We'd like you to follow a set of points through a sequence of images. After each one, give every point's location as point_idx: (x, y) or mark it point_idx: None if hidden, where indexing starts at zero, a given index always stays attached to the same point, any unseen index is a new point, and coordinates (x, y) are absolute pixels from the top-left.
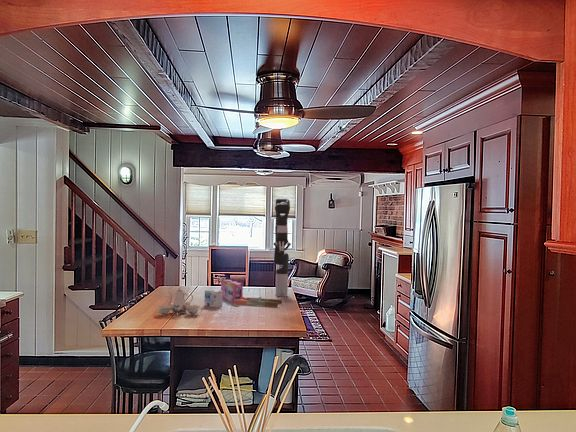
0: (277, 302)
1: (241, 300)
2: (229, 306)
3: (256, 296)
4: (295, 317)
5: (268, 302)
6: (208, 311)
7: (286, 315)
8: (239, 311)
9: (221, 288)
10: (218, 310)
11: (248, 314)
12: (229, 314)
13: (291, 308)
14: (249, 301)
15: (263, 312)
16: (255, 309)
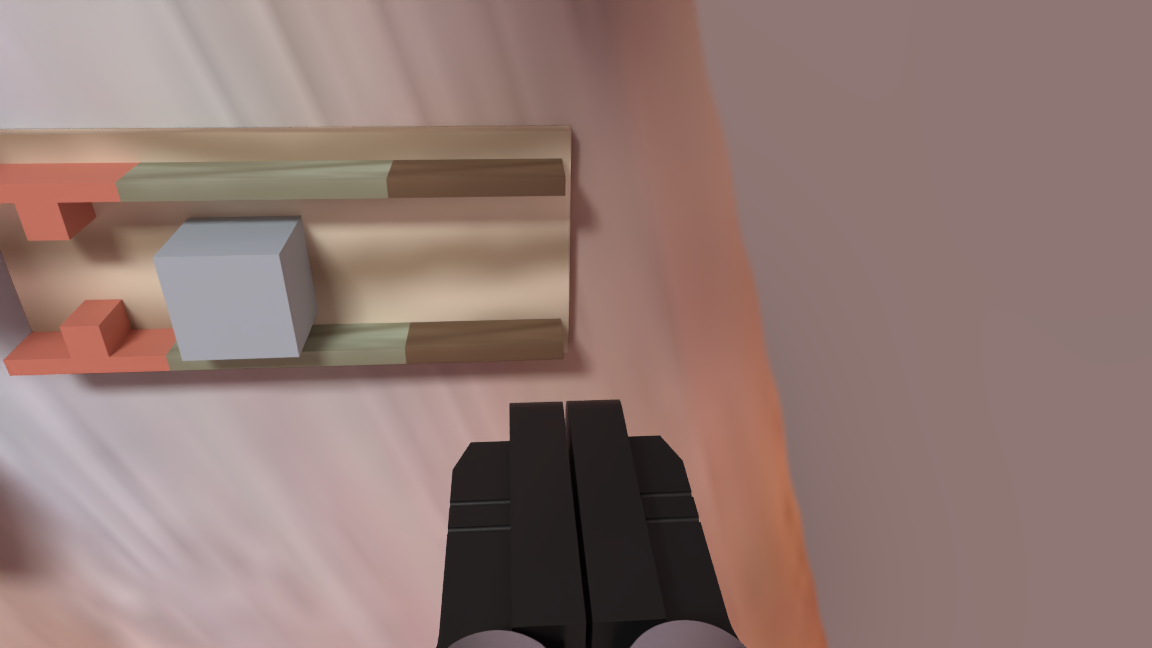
0: (559, 345)
1: (102, 370)
2: (27, 393)
3: (228, 285)
4: (784, 545)
5: (454, 359)
6: (13, 606)
7: (703, 517)
8: (261, 528)
9: None
10: (62, 555)
11: (390, 582)
12: (247, 625)
13: (704, 263)
14: (212, 364)
15: None
16: (359, 421)
